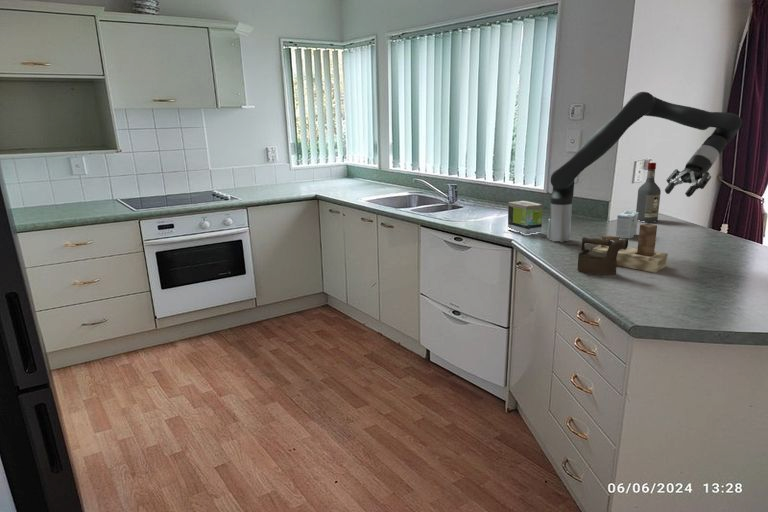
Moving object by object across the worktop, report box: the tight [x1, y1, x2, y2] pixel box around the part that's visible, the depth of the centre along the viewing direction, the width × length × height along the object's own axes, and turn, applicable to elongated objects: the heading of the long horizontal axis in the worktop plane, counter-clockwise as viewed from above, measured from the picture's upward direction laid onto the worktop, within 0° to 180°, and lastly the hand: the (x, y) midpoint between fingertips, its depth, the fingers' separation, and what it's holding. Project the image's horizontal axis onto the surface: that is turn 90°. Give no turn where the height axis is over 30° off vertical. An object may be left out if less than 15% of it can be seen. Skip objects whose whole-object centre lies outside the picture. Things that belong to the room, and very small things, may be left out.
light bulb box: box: [615, 210, 639, 240], centre depth 231 cm, size 11×7×11 cm, turn 141°
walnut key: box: [636, 223, 658, 257], centre depth 186 cm, size 4×4×16 cm
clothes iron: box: [577, 236, 629, 275], centre depth 182 cm, size 8×16×13 cm, turn 48°
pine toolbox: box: [591, 234, 668, 274], centre depth 191 cm, size 24×10×10 cm, turn 43°
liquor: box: [635, 162, 661, 223], centre depth 255 cm, size 9×9×30 cm
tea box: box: [507, 200, 544, 234], centre depth 246 cm, size 15×10×15 cm
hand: (676, 194), depth 185 cm, fingers open, 8 cm apart
